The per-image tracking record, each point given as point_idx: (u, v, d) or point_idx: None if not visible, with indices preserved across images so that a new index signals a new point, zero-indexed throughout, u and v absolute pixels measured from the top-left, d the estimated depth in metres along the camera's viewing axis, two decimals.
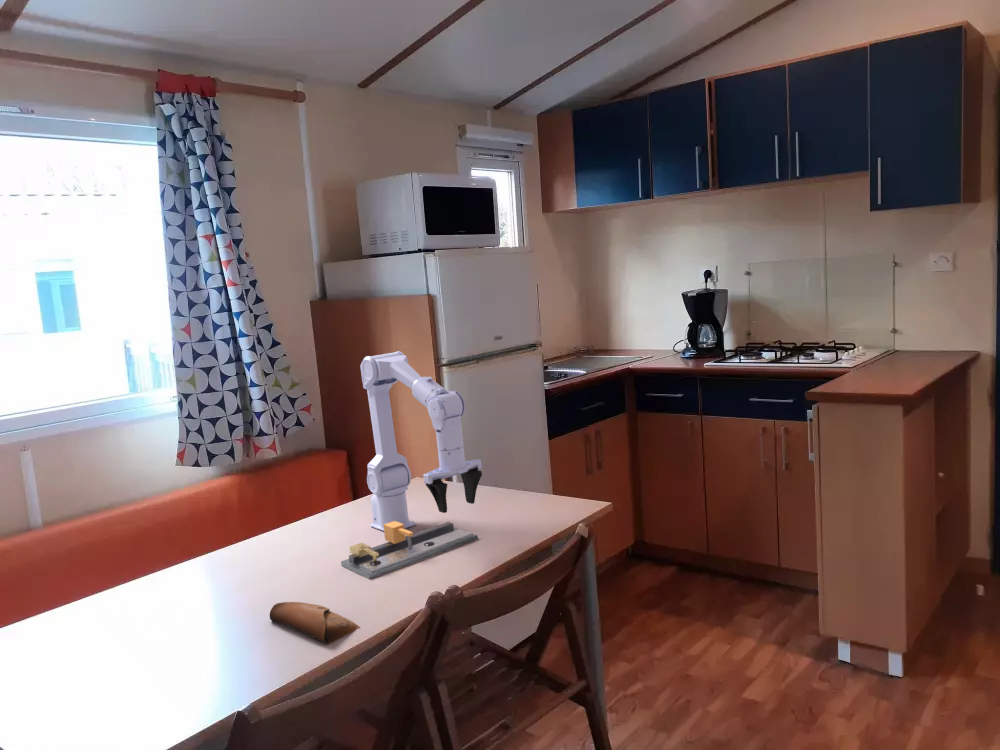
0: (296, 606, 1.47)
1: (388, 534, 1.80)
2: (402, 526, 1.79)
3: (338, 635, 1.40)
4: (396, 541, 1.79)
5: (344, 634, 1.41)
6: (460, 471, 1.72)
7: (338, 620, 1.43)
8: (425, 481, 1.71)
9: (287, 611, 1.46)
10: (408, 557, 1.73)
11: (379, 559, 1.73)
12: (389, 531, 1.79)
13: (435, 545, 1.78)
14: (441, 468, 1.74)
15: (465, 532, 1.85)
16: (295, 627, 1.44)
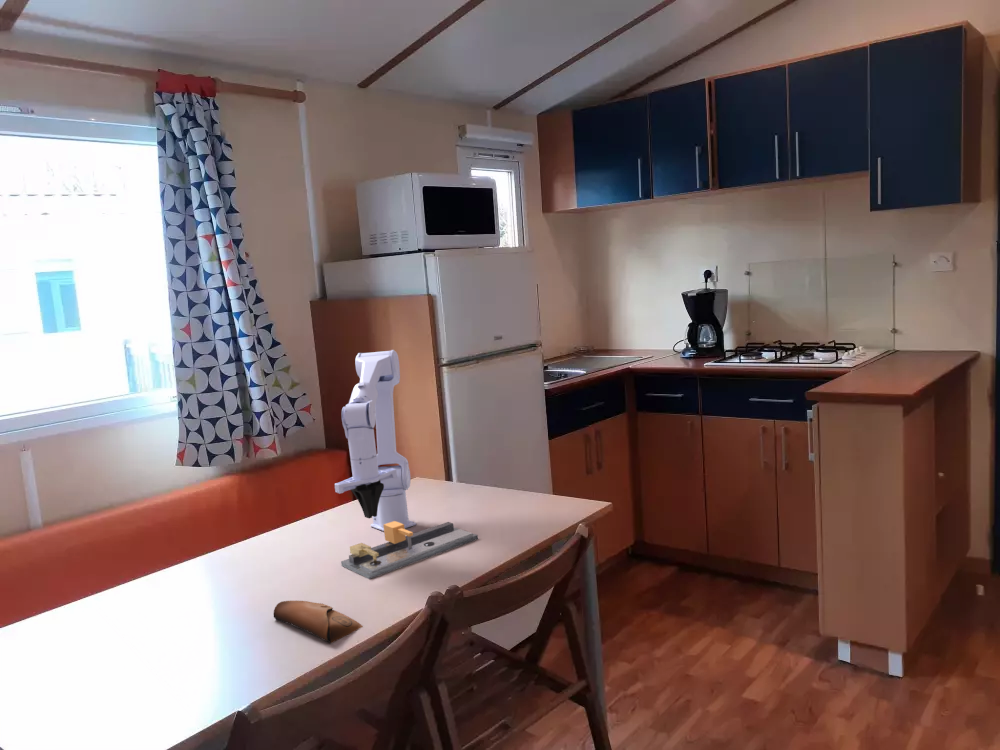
0: (300, 605, 1.48)
1: (388, 534, 1.80)
2: (402, 526, 1.79)
3: (340, 634, 1.40)
4: (396, 541, 1.79)
5: (347, 633, 1.41)
6: (372, 480, 1.72)
7: (341, 619, 1.43)
8: (336, 490, 1.71)
9: (290, 610, 1.47)
10: (408, 557, 1.73)
11: (379, 559, 1.73)
12: (389, 531, 1.79)
13: (435, 545, 1.78)
14: (353, 477, 1.74)
15: (465, 532, 1.85)
16: (298, 625, 1.44)
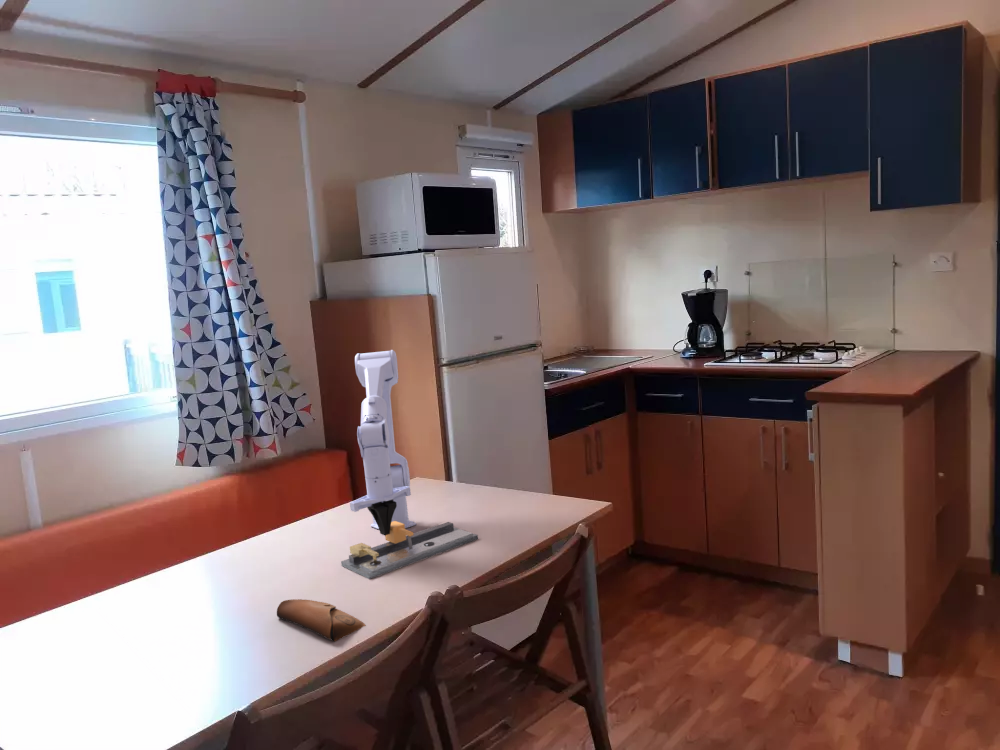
0: (303, 603, 1.48)
1: (389, 534, 1.80)
2: (402, 526, 1.79)
3: (343, 632, 1.41)
4: (396, 541, 1.79)
5: (350, 631, 1.42)
6: (386, 499, 1.74)
7: (344, 618, 1.44)
8: (351, 508, 1.74)
9: (293, 609, 1.47)
10: (408, 557, 1.73)
11: (379, 559, 1.73)
12: (390, 531, 1.79)
13: (435, 545, 1.78)
14: (368, 496, 1.76)
15: (465, 532, 1.85)
16: (301, 624, 1.45)
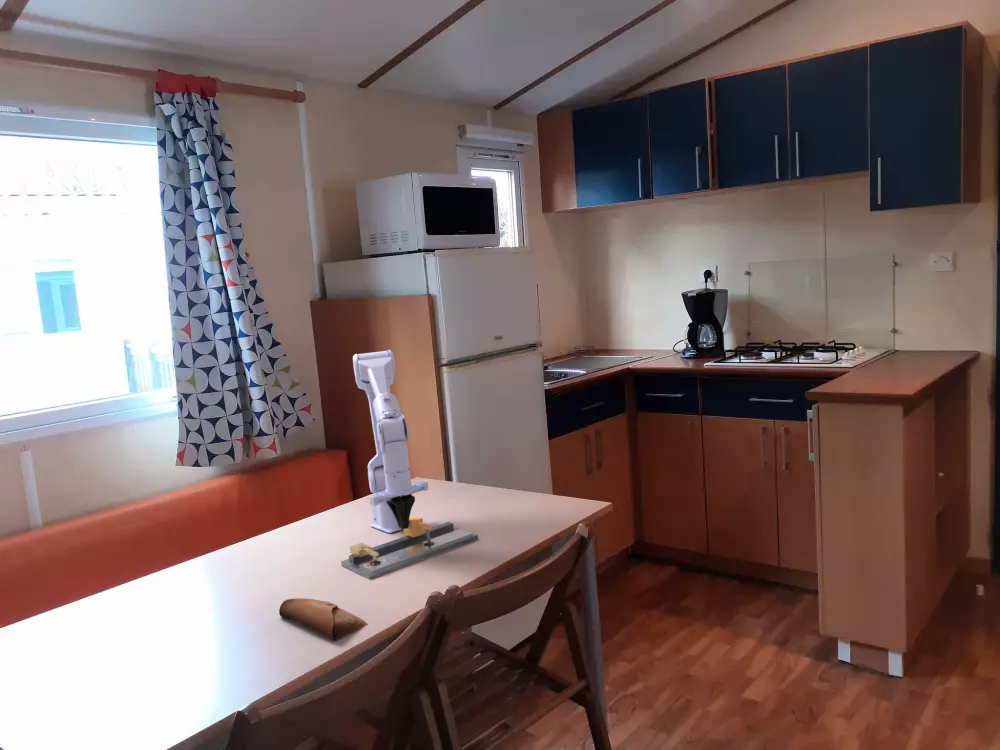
0: (305, 602, 1.48)
1: (407, 528, 1.83)
2: (421, 520, 1.82)
3: (345, 631, 1.41)
4: (415, 535, 1.82)
5: (352, 631, 1.42)
6: (405, 493, 1.77)
7: (346, 617, 1.44)
8: (371, 503, 1.77)
9: (296, 608, 1.48)
10: (408, 557, 1.73)
11: (379, 559, 1.73)
12: (408, 525, 1.82)
13: (435, 545, 1.78)
14: (387, 490, 1.79)
15: (465, 532, 1.85)
16: (304, 623, 1.45)
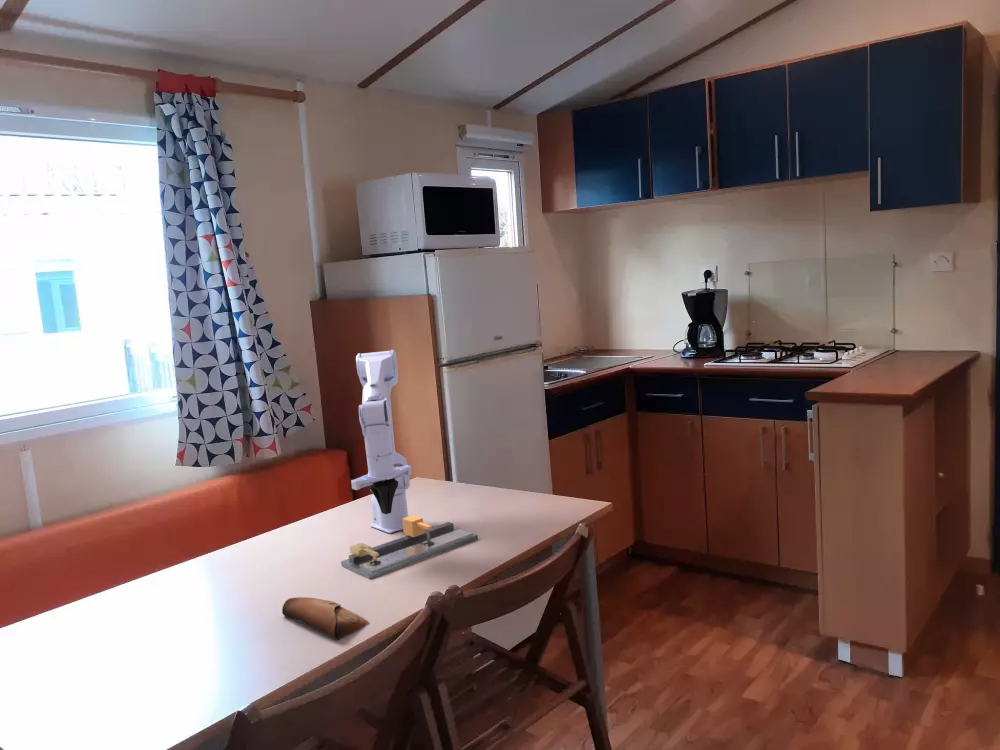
0: (308, 601, 1.49)
1: (407, 528, 1.83)
2: (421, 520, 1.82)
3: (348, 631, 1.41)
4: (415, 535, 1.82)
5: (354, 630, 1.42)
6: (388, 477, 1.74)
7: (349, 616, 1.44)
8: (353, 487, 1.74)
9: (299, 607, 1.48)
10: (408, 557, 1.73)
11: (379, 559, 1.73)
12: (408, 524, 1.82)
13: (435, 545, 1.78)
14: (370, 474, 1.76)
15: (465, 532, 1.85)
16: (306, 622, 1.45)
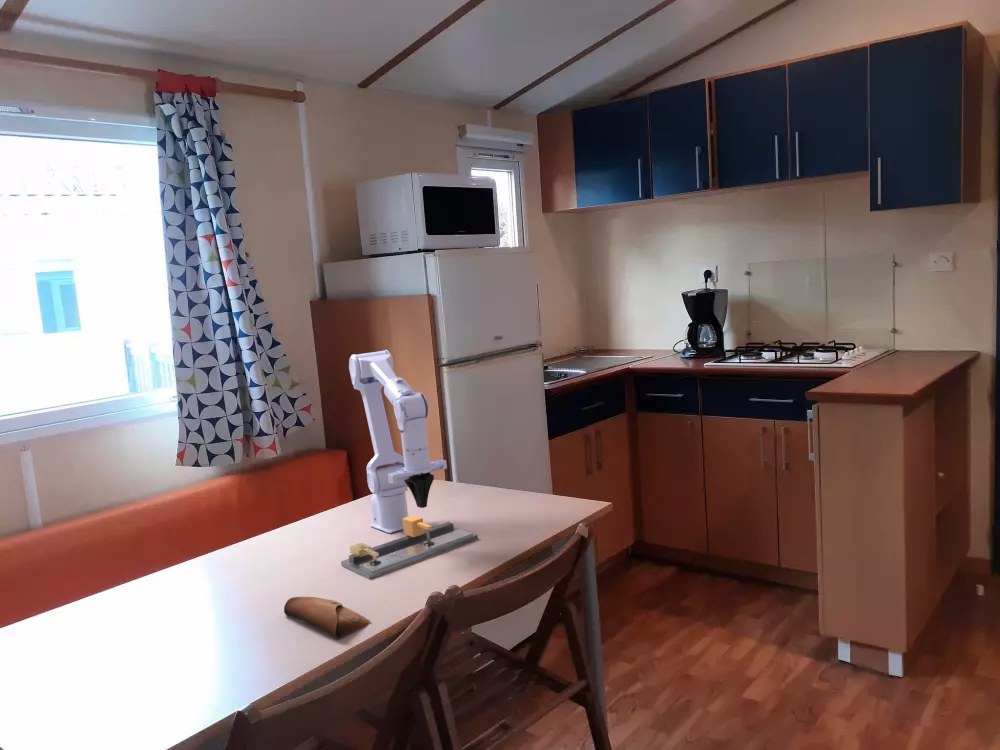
0: (310, 601, 1.49)
1: (407, 528, 1.83)
2: (421, 520, 1.82)
3: (349, 630, 1.42)
4: (415, 535, 1.82)
5: (356, 629, 1.43)
6: (424, 471, 1.75)
7: (350, 615, 1.45)
8: (390, 480, 1.75)
9: (300, 606, 1.48)
10: (408, 557, 1.73)
11: (379, 559, 1.73)
12: (408, 524, 1.82)
13: (435, 545, 1.78)
14: (406, 468, 1.77)
15: (465, 532, 1.85)
16: (308, 621, 1.45)
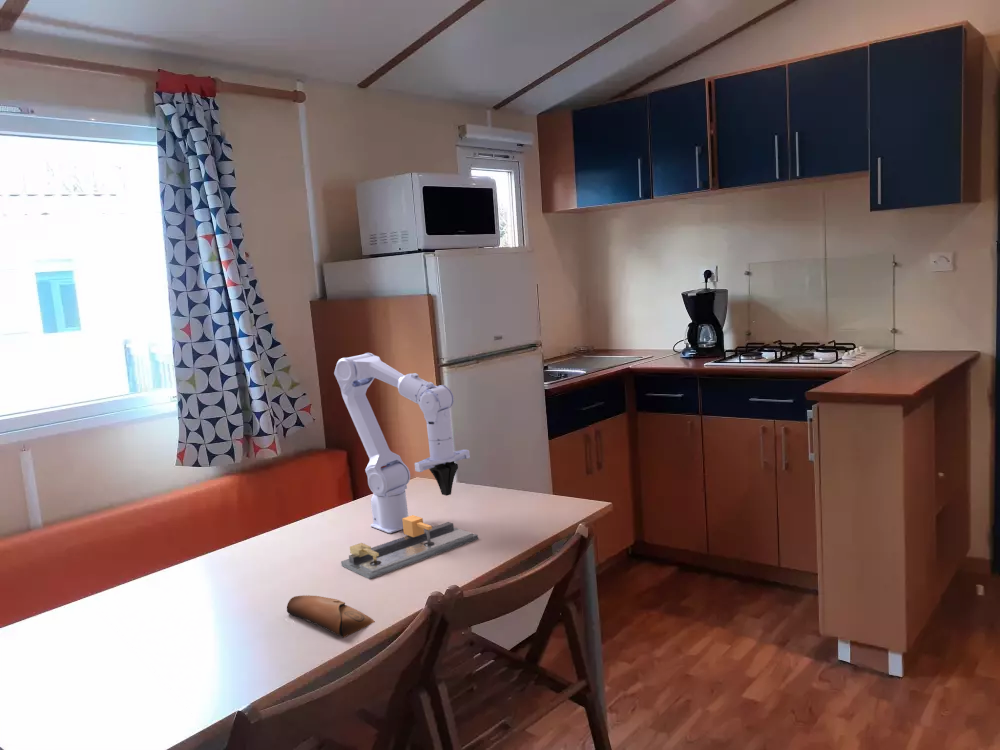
0: (312, 599, 1.49)
1: (407, 528, 1.83)
2: (421, 520, 1.82)
3: (352, 628, 1.42)
4: (415, 535, 1.82)
5: (359, 628, 1.43)
6: (449, 460, 1.83)
7: (353, 614, 1.45)
8: (416, 469, 1.83)
9: (303, 605, 1.49)
10: (408, 557, 1.73)
11: (379, 559, 1.73)
12: (408, 524, 1.82)
13: (435, 545, 1.78)
14: (431, 457, 1.85)
15: (465, 532, 1.85)
16: (311, 620, 1.46)
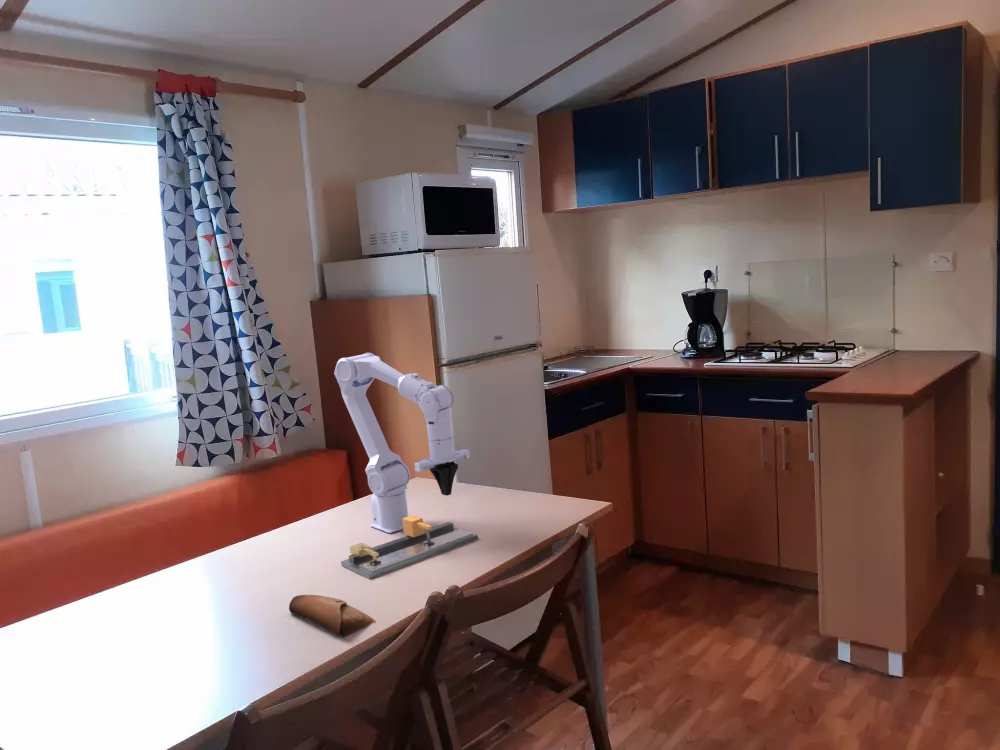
0: (314, 599, 1.50)
1: (407, 528, 1.83)
2: (421, 520, 1.82)
3: (353, 628, 1.42)
4: (415, 535, 1.82)
5: (360, 628, 1.43)
6: (449, 460, 1.83)
7: (354, 614, 1.45)
8: (416, 469, 1.83)
9: (305, 604, 1.49)
10: (408, 557, 1.73)
11: (379, 559, 1.73)
12: (408, 524, 1.82)
13: (435, 545, 1.78)
14: (431, 457, 1.85)
15: (465, 532, 1.85)
16: (312, 619, 1.46)
